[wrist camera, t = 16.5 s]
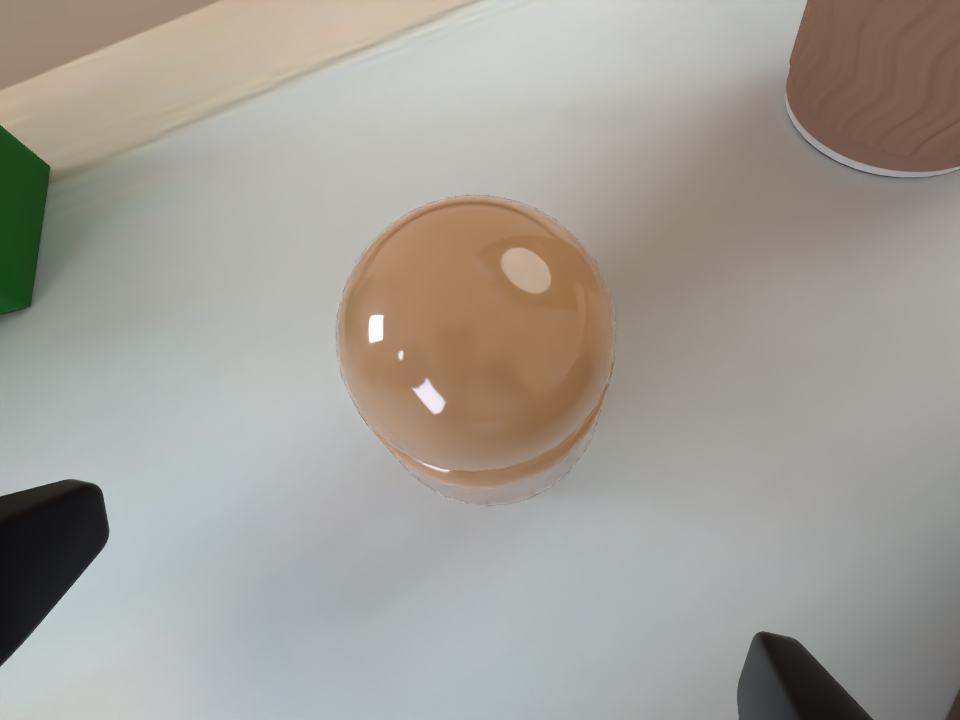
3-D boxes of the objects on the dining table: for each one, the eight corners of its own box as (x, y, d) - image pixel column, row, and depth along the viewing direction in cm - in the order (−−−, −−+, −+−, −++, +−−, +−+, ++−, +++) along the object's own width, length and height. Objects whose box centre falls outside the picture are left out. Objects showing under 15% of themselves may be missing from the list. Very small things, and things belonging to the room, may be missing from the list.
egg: (627, 456, 15) (717, 287, 8) (469, 566, 14) (389, 501, 7) (521, 323, 17) (506, 83, 10) (377, 412, 17) (236, 228, 9)
